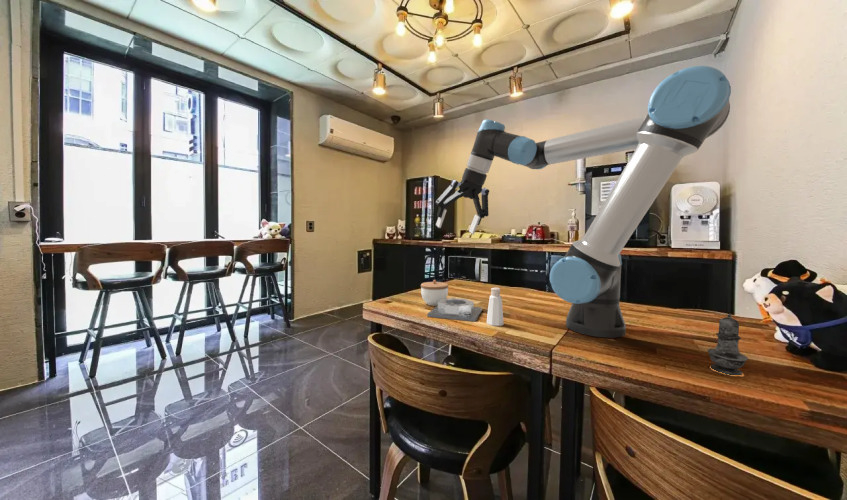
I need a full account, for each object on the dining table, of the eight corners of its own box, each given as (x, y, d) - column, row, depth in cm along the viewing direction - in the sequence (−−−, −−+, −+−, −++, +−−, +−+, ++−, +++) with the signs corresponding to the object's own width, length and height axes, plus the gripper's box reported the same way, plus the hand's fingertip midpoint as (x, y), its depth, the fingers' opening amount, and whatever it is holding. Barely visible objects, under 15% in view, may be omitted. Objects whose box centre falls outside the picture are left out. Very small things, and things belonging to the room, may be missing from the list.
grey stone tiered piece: (725, 364, 65) (728, 309, 64) (755, 377, 59) (760, 317, 59) (698, 365, 65) (701, 309, 64) (726, 378, 59) (730, 317, 58)
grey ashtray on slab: (481, 310, 109) (482, 297, 109) (475, 321, 96) (475, 306, 95) (438, 306, 114) (439, 294, 114) (427, 316, 101) (427, 302, 101)
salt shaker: (500, 327, 90) (501, 290, 89) (483, 324, 93) (484, 288, 92) (506, 322, 95) (507, 287, 94) (489, 319, 97) (490, 285, 97)
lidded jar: (452, 302, 120) (453, 279, 120) (439, 308, 111) (439, 283, 111) (429, 299, 126) (429, 277, 126) (415, 304, 117) (415, 280, 117)
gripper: (500, 176, 108) (479, 231, 115) (439, 158, 97) (419, 219, 105) (512, 182, 101) (489, 239, 109) (448, 163, 91) (427, 227, 98)
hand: (455, 229), depth 107 cm, fingers open, 13 cm apart
